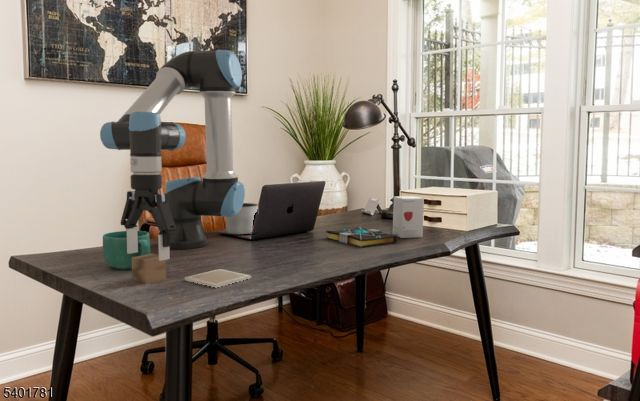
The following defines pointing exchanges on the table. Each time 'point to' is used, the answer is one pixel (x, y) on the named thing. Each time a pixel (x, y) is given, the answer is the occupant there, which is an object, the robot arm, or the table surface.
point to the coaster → (217, 278)
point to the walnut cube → (148, 268)
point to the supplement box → (408, 216)
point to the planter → (242, 220)
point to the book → (362, 237)
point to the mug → (123, 248)
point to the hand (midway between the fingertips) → (148, 256)
